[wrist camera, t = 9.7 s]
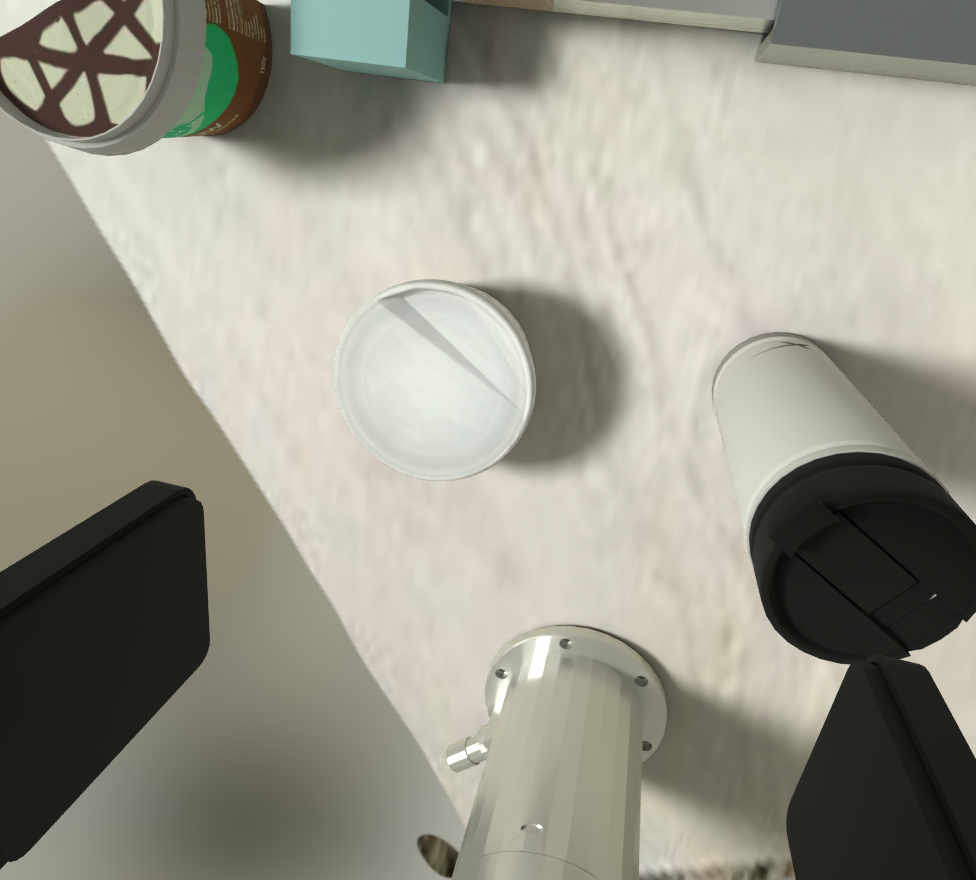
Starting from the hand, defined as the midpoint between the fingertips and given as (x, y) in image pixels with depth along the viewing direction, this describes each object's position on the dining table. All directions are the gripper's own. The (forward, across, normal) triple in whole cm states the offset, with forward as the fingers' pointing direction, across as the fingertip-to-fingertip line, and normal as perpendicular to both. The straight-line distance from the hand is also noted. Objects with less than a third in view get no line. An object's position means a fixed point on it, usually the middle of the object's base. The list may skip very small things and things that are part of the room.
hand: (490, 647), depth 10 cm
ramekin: (+31, +8, +6) cm, 32 cm away
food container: (+31, +24, -7) cm, 39 cm away
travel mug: (+31, -9, +4) cm, 32 cm away
